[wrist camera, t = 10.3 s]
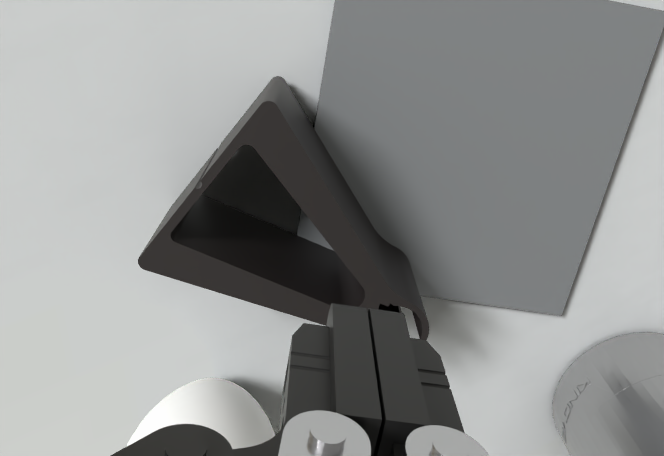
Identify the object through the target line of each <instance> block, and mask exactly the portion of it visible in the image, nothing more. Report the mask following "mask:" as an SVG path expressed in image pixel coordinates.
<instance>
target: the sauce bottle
mask: <svg viewBox="0 0 664 456" xmlns="http://www.w3.org/2000/svg"><path fill="white" fill-rule="evenodd" d="M176 424H195V425H201V426H205V427H208V428H210V429H213V430H215V431H217V432H218V433H220V434H221V435H222V436H224V437H225V438H226V439H227V441H228V442H229V443H230V445H231V447H232V449H238V448H246V447H251V446H255V445H259V444H262V443H264V442H266V441H268V440H270V439H271V438H273V437H274V436H275V433H274V431H273V428H272V426H271V423H270V421H269V419H268V417H267V415H266V414H265V412H264V411H263V409H262V408H261V406H260V405H259V403H258V402H257V401H256V400H255V399H254V398H253V397H252V396H251V395H250V394H249V392H247V391H246V390H245V389H243V388H242V387H241V386H239V385H237V384H235V383H233V382H231V381H227V380H224V379H219V378H203V379H199V380H195V381H193V382H191V383H188V384H186V385H184V386H182V387H180V388H178V389H177V390H175V391H174V392H172V393H171V394H169V395H168V396H166V397H165V398H164V399H163V400H161V401H160V402H159V403H158V404H157V405H156V406H155V407H154V408H153V409H152V410H151V411H150V412H149V413H148V414H147V415H146V417H145V418H144V419H143V421H142V422H141V423H140V425H139V426H138V428H137V429H136V431H135V432H134V434H133V435H132V437H131V438H130V440H129V442H128V444H127V446H129V445H131V444H132V443H134V442H136V441H138V440H140V439H142V438H143V437H145V436H147V435H149V434H151V433H152V432H154V431H156V430H158V429H161V428H163V427H167V426H170V425H176ZM127 446H126V447H127Z"/></svg>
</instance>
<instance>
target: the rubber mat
mask: <svg viewBox="0 0 664 456" xmlns="http://www.w3.org/2000/svg"><path fill="white" fill-rule="evenodd" d="M663 28H664V11H662V10H656V9H651V8H646V7H640V6H635V5H630V4H625V3H619V2H614V1H609V0H335V3H334V10H333V16H332V22H331V28H330V34H329V40H328V46H327V53H326V59H325V65H324V71H323V77H322V83H321V89H320V96H319V102H318V108H317V114H316V120H315V126H314V129H315V131H316V133H317V134H318V136H319V138H320V139H321V141H322V143H323V144H324V146H325V148H326V149H327V151H328V153H329V154H330V156H331V158H332V159H333V161H334V162H335V164H336V166H337V167H338V169H339V171H340V172H341V174H342V176H343V177H344V179H345V181H346V182H347V184H348V186H349V187H350V189H351V191H352V192H353V194H354V196H355V197H356V199H357V201H358V202H359V204H360V206H361V207H362V209H363V211H364V212H365V214H366V216H367V217H368V219H369V221H370V222H371V224H372V226H373V227H374V229H375V230H376V231H377V233H378V234H379V235H380V236H381V237H382V238H383V239H384V240H385V241H387V242H388V243H390V244H391V245H393V246H395V247H397V248H398V249H400V250H401V251H403V252H404V253H405V255H406V256H407V258H408V260H409V262H410V265H411V269H412V272H413V275H414V278H415V281H416V285H417V288H418V291H419V294H420V296H425V297H432V298H439V299H446V300H453V301H460V302H467V303H474V304H481V305H488V306H495V307H502V308H509V309H517V310H524V311H531V312H538V313H545V314H552V315H559V316H562V313H563V310H564V307H565V304H566V302H567V299H568V296H569V293H570V290H571V287H572V285H573V282H574V279H575V276H576V273H577V271H578V268H579V265H580V262H581V259H582V256H583V254H584V251H585V248H586V245H587V242H588V240H589V237H590V234H591V231H592V228H593V225H594V223H595V220H596V217H597V214H598V211H599V209H600V206H601V203H602V200H603V197H604V194H605V192H606V189H607V186H608V183H609V180H610V178H611V175H612V172H613V169H614V166H615V163H616V161H617V158H618V155H619V152H620V149H621V146H622V144H623V141H624V138H625V135H626V132H627V130H628V127H629V124H630V121H631V118H632V115H633V113H634V110H635V107H636V104H637V101H638V99H639V96H640V93H641V90H642V87H643V84H644V82H645V79H646V76H647V73H648V70H649V68H650V65H651V62H652V59H653V56H654V53H655V51H656V48H657V45H658V42H659V39H660V36H661V34H662V31H663ZM297 235H298V236H300V237H302V238H305V239H307V240H309V241H312V242H314V243H317V244H319V245H321V246H324V247H326V248H328V249H331V250H333V249H332V247H331V246H330V245H329V243H328V242H327V241H326V240H325V238H324V237H323V236H322V234H321V233H320V232H319V231H318V229H317V228H316V227H315V225H314V224H313V223H312V222H311V220H310V219H309V218H308V217H307V215H306V214H305V213H304V211H303V210H302V209H301V212H300V219H299V225H298V231H297ZM333 251H334V250H333Z"/></svg>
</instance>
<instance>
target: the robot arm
mask: <svg viewBox="0 0 664 456" xmlns="http://www.w3.org/2000/svg"><path fill="white" fill-rule="evenodd" d="M449 387H450V385H449V382H448V379H447V376H446V375H445V369H444V366H443V363H442V360H441V357H440V355H439V354H438V353H437V352H436V351H435V350H434V349H433V347H432V346H431V345H430V344H429V343H428V342H427V341H426V340H421V339H414V338H410V336H409V332H408V328H407V324H406V320H405V316H404V314H403V313H398V312H391V311H384V310H377V309H370V308H368V310H367V309H366V308H363V307H356V306H349V305H342V304H335V303H331V306H330V309H329V314H328V319H327V324H326V326H320V325H313V324H306V323H304V324H303V325H302V326H301V327H300V328H299V329H298V330H297V331H296V332H295V333H294V334H293V335H292V341H291V347H290V353H289V359H288V365H287V370H286V376H285V382H284V388H283V394H282V402H281V413H280V423H279V433H277V434H276V435H275V436H274V437H273V438H271V439H270V440H268V441H266V442H264V443H262V444H259V445H255V446H251V447H246V448H238V449H232V447H231V445H230V443H229V442H228V441H227V439H226V438H225V437H224V436H222V435H221V434H220V433H218V432H217V431H215V430H213V429H210V428H208V427H205V426H201V425H195V424H176V425H170V426H167V427H163V428H161V429H158V430H156V431H154V432H152V433H151V434H149V435H147V436H145V437H143V438H142V439H140V440H138V441H136V442H134V443H132V444H131V445H129V446H127V447H125V448H123V449H122V450H120V451H118V452H116V453H114V454H113V455H111V456H489V455H488V453H487V452H486V450H485V449H484V448H483V447H482V446H481V445H480V444H479V443H478V442H477V441H476V440H474V439H473V438H472V437H470V436H468V435H467V434H465V433H464V430H463V427H462V423H461V420H460V417H459V414H458V411H457V408H456V404H455V401H454V398H453V395H452V392H451V389H449ZM552 407H553V419H554V422H555V426H556V428H557V430H558V432H559V434H560V436H561V438H562V440H563V442H564V444H565V446H566V447H567V449H568V451H569V453H570V455H571V456H664V334H660V333H653V332H641V333H630V334H626V335H621V336H616V337H614V338H611V339H609V340H606V341H604V342H601V343H599V344H598V345H596V346H594V347H593V348H591V349H589V350H588V351H586V352H585V353H583V354H582V355H581V356H580V357H579V358H578V359H577V360H575V361H574V362H573V363H572V364H571V366H570V367H569V368H568V369H567V371H566V372H565V373H564V374H563V376H562V378H561V380H560V382H559V384H558V386H557V388H556V390H555V394H554V398H553V402H552Z"/></svg>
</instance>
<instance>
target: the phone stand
mask: <svg viewBox="0 0 664 456" xmlns="http://www.w3.org/2000/svg"><path fill="white" fill-rule="evenodd" d="M242 145H250V146H252V147H253V148H254V149H255V150H256V151H257V152H258V154H259V155H260V156H261V158H262V159H263V160H264V161H265V163H266V164H267V165H268V167H269V168H270V169H271V170H272V172H273V173H274V174H275V176H276V177H277V178H278V179H279V181H280V182H281V183H282V185H283V186H284V187H285V188H286V190H287V191H288V192H289V193H290V195H291V196H292V197H293V199H294V200H295V201H296V202H297V204H298V205H299V206H300V208H301V209H302V210H303V211H304V213H305V214H306V215H307V217H308V218H309V219H310V220H311V222H312V223H313V224H314V225H315V227H316V228H317V229H318V231H319V232H320V233H321V234H322V236H323V237H324V238H325V240H326V241H327V242H328V243H329V245H330V246H331V247H332V249H333V250H334V251H333V250H331V249H328V248H326V247H324V246H321V245H319V244H317V243H314V242H312V241H309V240H307V239H305V238H302V237H300V236H298V235H295V234H293V233H291V232H288V231H286V230H284V229H281V228H279V227H276V226H274V225H272V224H269V223H267V222H265V221H262V220H260V219H258V218H255V217H253V216H251V215H248V214H246V213H244V212H241V211H239V210H236V209H234V208H232V207H229V206H227V205H225V204H222V203H220V202H218V201H215V200H213V199H211V198H208V197H206V196H203V195H202V193H203V192H204V191H205V190H206V189H207V187H208V186H209V185H210V184H211V182H212V181H213V180H214V179H215V177H216V176H217V175H218V174H219V172H220V171H221V170H222V169H223V167H224V166H225V165H226V164H227V162H228V161H229V160H230V159H231V157H232V156H233V155H234V154H235V152H236V151H237V150H238V149H239V147H241V146H242ZM138 264H139V266H140V267H141V268H142V269H144V270H147V271H150V272H154V273H157V274H160V275H163V276H167V277H170V278H173V279H176V280H180V281H183V282H186V283H189V284H193V285H196V286H199V287H202V288H206V289H209V290H212V291H215V292H219V293H222V294H225V295H228V296H232V297H235V298H238V299H241V300H245V301H248V302H251V303H254V304H258V305H261V306H264V307H267V308H271V309H274V310H277V311H280V312H284V313H287V314H290V315H293V316H297V317H300V318H303V319H306V320H310V321H313V322H316V323H319V324H323V325H326V324H327V319H328V314H329V309H330V306H331V303H335V304H342V305H349V306H356V307H363V308H366V309H367V310H368V308H370V309H377V310H384V311H391V312H398V313H402V312H401V308H400V306H402V307H406V308H408V309H410V310H412V312H413V315H414V319H415V323H416V326H417V330H418V333H419V337H420V339H421V340H427V337H428V334H429V324H428V320H427V317H426V313H425V310H424V307H423V304H422V301H421V297H420V294H419V291H418V288H417V285H416V281H415V278H414V275H413V272H412V269H411V265H410V262H409V260H408V258H407V256H406V255H405V253H404V252H403V251H401V250H400V249H398V248H397V247H395V246H393V245H391V244H390V243H388V242H387V241H385V240H384V239H383V238H382V237H381V236H380V235H379V234H378V233H377V231H376V230H375V229H374V227H373V226H372V224H371V222H370V221H369V219H368V217H367V216H366V214H365V212H364V211H363V209H362V207H361V206H360V204H359V202H358V201H357V199H356V197H355V196H354V194H353V192H352V191H351V189H350V187H349V186H348V184H347V182H346V181H345V179H344V177H343V176H342V174H341V172H340V171H339V169H338V167H337V166H336V164H335V162H334V161H333V159H332V158H331V156H330V154H329V153H328V151H327V149H326V148H325V146H324V144H323V143H322V141H321V139H320V138H319V136H318V134H317V133H316V131H315V129H314V128H313V126H312V124H311V123H310V121H309V119H308V118H307V116H306V114H305V113H304V111H303V109H302V108H301V106H300V104H299V103H298V101H297V99H296V98H295V96H294V94H293V93H292V91H291V89H290V88H289V86H288V84H287V83H286V81H285V80H284V79H283V78H282V77H279V76H277V77H274V78H273V79H272V80H271V81H270V82H269V84H268V85H267V86H266V87H265V89H264V90H263V91H262V92H261V94H260V95H259V96H258V97H257V99H256V100H255V101H254V102H253V104H252V105H251V106H250V108H249V109H248V110H247V111H246V113H245V114H244V115H243V116H242V118H241V119H240V120H239V121H238V123H237V124H236V125H235V127H234V128H233V129H232V130H231V132H230V133H229V134H228V135H227V137H226V138H225V139H224V140H223V142H222V143H221V145H220V147H219V148H218V149H216V151H215V152H214V153H213V154H212V156H211V157H210V158H209V159H208V161H207V162H206V163H205V164H204V166H203V167H202V168H201V170H200V171H199V172H198V173H197V175H196V176H195V177H194V178H193V180H192V181H191V182H190V183H189V185H188V186H187V187H186V189H185V190H184V191H183V192H182V194H181V195H180V196H179V197H178V199H177V200H176V201H175V202H174V204H173V205H172V206H171V208H170V209H169V211H168V212H167V214H166V216H165V217H164V219H163V220H162V222H161V224H160V225H159V227H158V228H157V230H156V231H155V233H154V235H153V236H152V238H151V239H150V241H149V243H148V244H147V246H146V247H145V249H144V251H143V252H142V254H141V255H140V257H139V259H138Z"/></svg>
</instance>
